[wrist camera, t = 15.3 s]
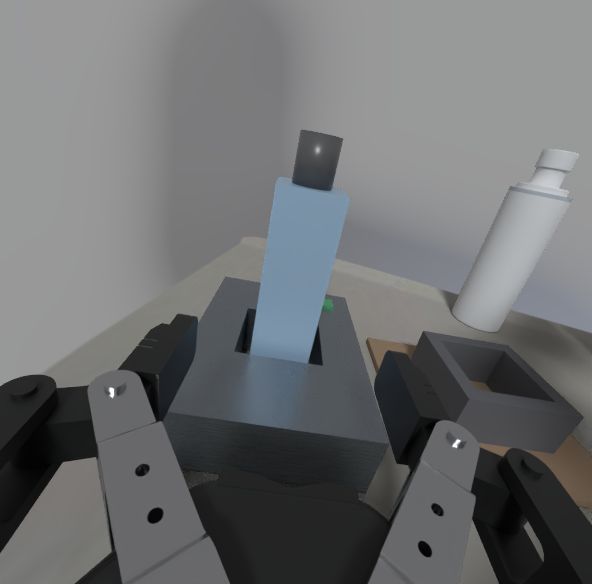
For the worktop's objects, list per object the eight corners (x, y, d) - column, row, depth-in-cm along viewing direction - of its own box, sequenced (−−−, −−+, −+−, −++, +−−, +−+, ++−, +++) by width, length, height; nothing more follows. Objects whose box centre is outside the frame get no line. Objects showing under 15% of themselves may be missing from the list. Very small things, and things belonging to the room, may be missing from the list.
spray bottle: (445, 305, 49) (523, 133, 38) (486, 314, 49) (576, 144, 38) (460, 326, 43) (558, 128, 32) (507, 337, 43) (622, 141, 32)
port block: (221, 313, 34) (225, 274, 32) (334, 332, 35) (345, 295, 33) (150, 464, 18) (148, 404, 16) (365, 493, 19) (390, 440, 17)
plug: (251, 357, 28) (286, 128, 20) (297, 364, 28) (351, 142, 20) (243, 392, 24) (284, 124, 16) (298, 400, 24) (365, 141, 16)
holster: (366, 342, 34) (378, 306, 32) (498, 364, 35) (518, 331, 33) (414, 484, 20) (442, 435, 18) (636, 514, 21) (685, 471, 19)
